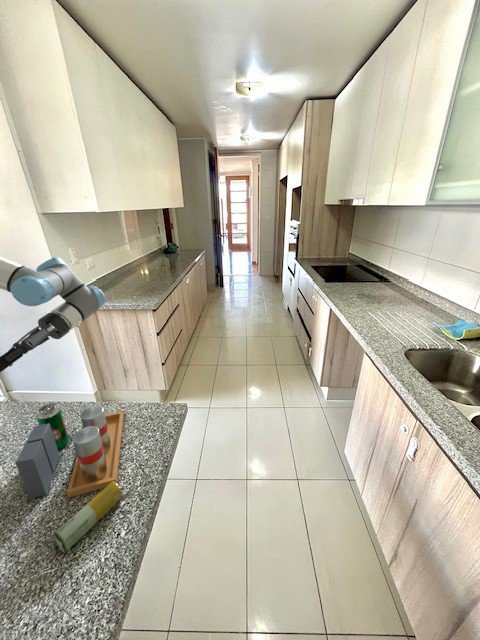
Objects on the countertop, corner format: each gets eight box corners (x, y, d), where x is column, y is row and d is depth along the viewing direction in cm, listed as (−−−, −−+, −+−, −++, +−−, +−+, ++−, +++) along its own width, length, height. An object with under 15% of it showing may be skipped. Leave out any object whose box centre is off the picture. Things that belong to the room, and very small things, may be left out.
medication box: (64, 555, 47) (60, 544, 45) (56, 545, 48) (51, 533, 46) (122, 498, 56) (120, 486, 55) (114, 490, 57) (112, 479, 56)
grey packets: (46, 460, 65) (34, 425, 61) (60, 457, 66) (49, 423, 62) (30, 500, 56) (15, 462, 52) (46, 495, 57) (33, 458, 53)
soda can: (43, 454, 67) (30, 417, 62) (52, 439, 71) (41, 403, 67) (65, 451, 68) (54, 414, 63) (72, 436, 72) (62, 401, 68)
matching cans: (91, 444, 69) (82, 407, 65) (112, 439, 71) (104, 403, 67) (81, 486, 58) (69, 446, 54) (106, 480, 60) (97, 440, 55)
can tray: (89, 423, 77) (87, 418, 76) (123, 416, 80) (123, 411, 79) (68, 499, 56) (66, 492, 55) (116, 485, 59) (115, 479, 58)
